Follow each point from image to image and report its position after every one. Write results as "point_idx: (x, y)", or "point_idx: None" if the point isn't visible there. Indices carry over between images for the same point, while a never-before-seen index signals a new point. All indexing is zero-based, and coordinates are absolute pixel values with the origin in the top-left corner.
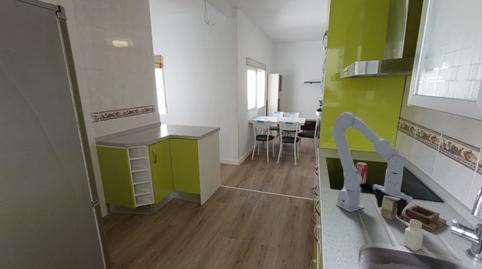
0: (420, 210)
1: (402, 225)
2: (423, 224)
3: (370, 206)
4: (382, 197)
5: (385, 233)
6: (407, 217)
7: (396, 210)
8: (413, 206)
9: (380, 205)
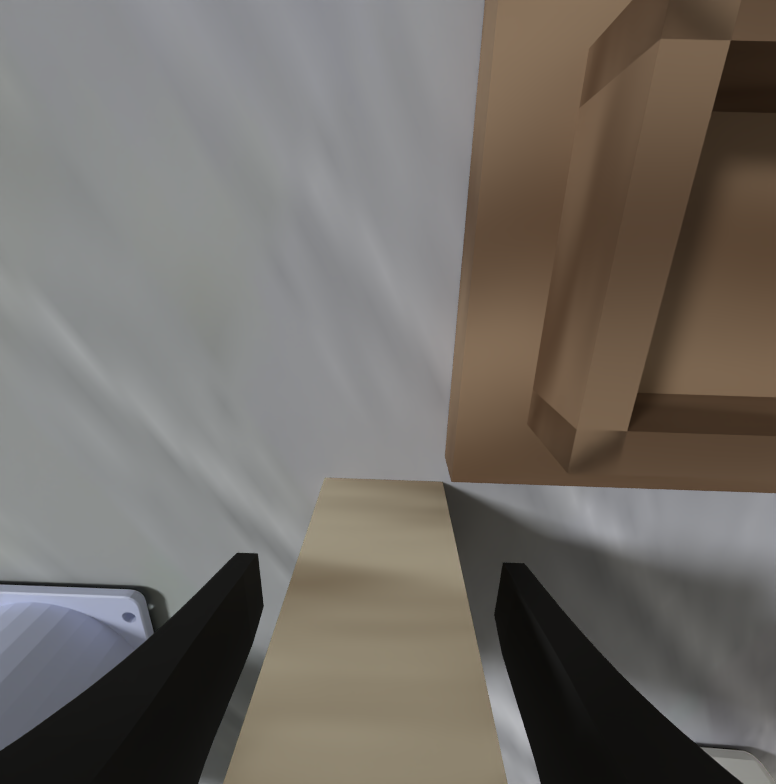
0: (737, 85)
1: (557, 579)
2: (773, 482)
3: (138, 491)
4: (161, 744)
5: (513, 765)
6: (578, 478)
7: (456, 559)
8: (651, 184)
9: (250, 612)
